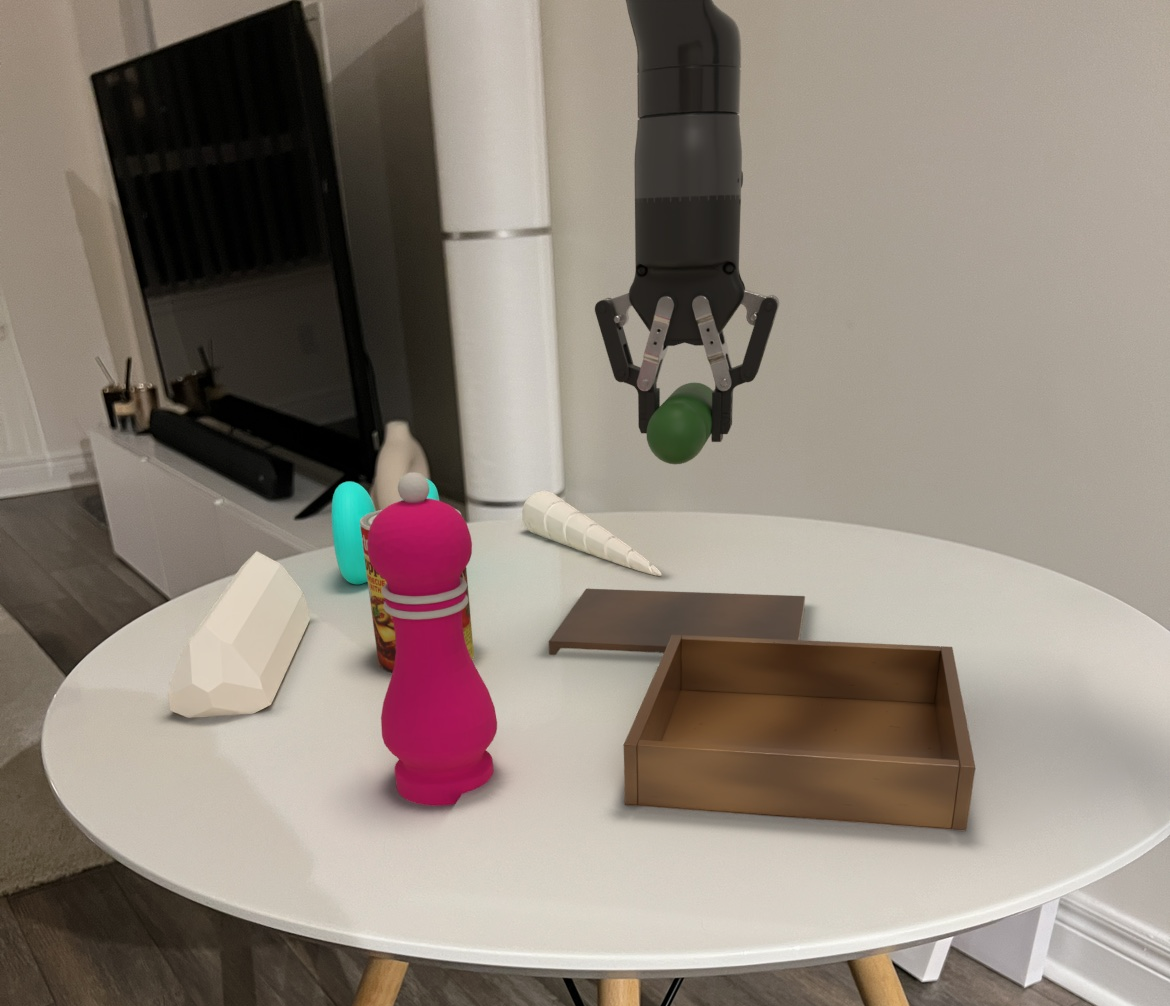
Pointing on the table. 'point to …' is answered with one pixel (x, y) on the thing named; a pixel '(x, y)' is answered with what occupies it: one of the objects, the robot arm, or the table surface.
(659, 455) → the cucumber
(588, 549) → the unicorn horn
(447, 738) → the pepper mill
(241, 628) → the crystal
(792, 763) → the wooden tray
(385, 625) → the canned food
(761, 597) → the cutting board
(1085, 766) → the table surface
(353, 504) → the donuts
